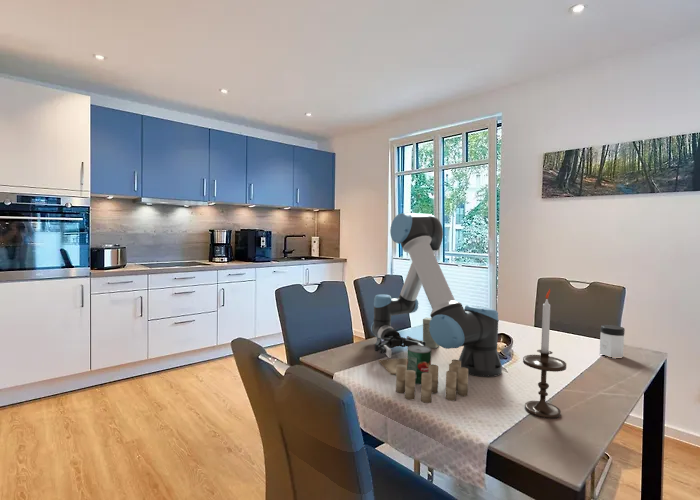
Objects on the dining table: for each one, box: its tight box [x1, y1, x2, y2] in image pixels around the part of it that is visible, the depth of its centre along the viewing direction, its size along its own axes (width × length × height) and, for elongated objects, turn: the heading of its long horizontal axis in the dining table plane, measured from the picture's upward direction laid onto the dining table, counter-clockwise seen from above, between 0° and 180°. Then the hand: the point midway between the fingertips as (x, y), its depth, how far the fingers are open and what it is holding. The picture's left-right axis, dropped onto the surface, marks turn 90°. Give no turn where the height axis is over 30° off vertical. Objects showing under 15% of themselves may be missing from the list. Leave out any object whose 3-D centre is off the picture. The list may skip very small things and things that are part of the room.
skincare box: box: [422, 317, 440, 349], centre depth 168 cm, size 6×4×12 cm
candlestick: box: [522, 289, 567, 420], centre depth 108 cm, size 11×11×35 cm
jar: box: [599, 324, 626, 358], centre depth 159 cm, size 9×8×12 cm
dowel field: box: [395, 359, 469, 404], centre depth 120 cm, size 22×15×8 cm
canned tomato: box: [406, 345, 432, 386], centre depth 130 cm, size 8×8×11 cm
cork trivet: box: [378, 357, 407, 376], centre depth 143 cm, size 14×14×1 cm
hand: (408, 352), depth 139 cm, fingers open, 13 cm apart
